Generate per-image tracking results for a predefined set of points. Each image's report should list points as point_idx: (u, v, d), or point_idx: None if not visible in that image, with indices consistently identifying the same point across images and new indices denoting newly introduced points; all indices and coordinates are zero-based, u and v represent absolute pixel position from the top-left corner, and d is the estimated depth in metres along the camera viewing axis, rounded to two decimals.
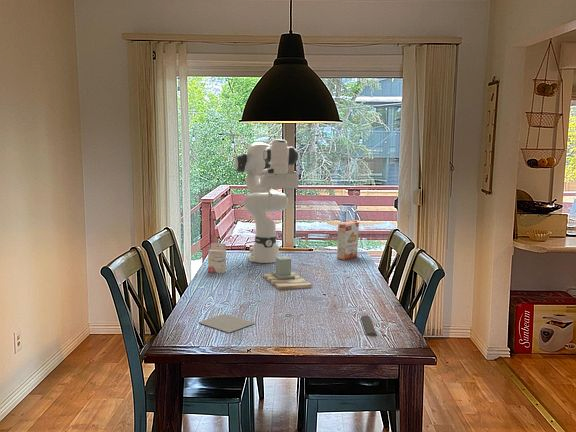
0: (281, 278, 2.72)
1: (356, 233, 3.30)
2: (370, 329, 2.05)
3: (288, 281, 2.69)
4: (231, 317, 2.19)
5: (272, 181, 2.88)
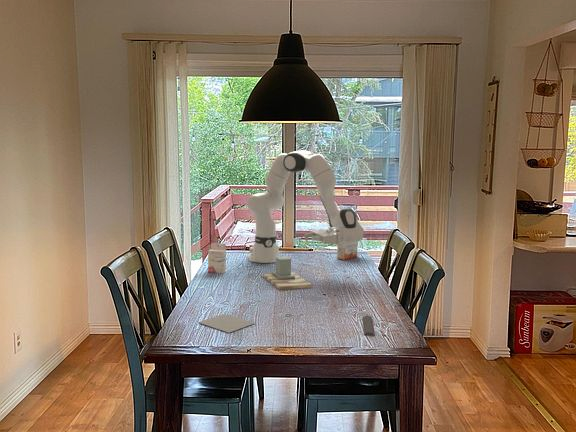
0: (281, 278, 2.72)
1: None
2: (368, 329, 2.05)
3: (288, 281, 2.69)
4: (231, 317, 2.19)
5: None
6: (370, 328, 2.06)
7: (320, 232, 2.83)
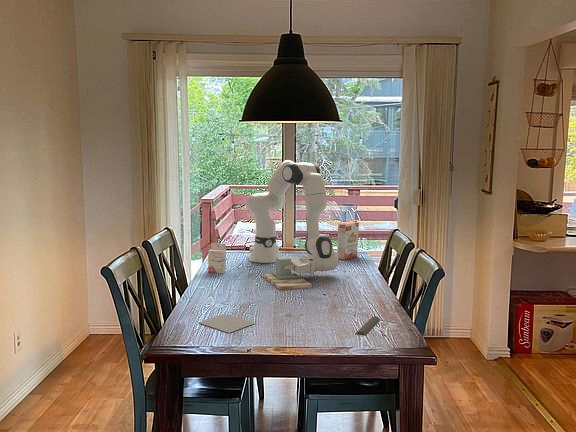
0: (281, 278, 2.72)
1: (356, 233, 3.30)
2: (362, 328, 2.06)
3: (288, 281, 2.69)
4: (231, 317, 2.19)
5: None
6: (365, 328, 2.07)
7: (294, 260, 2.81)
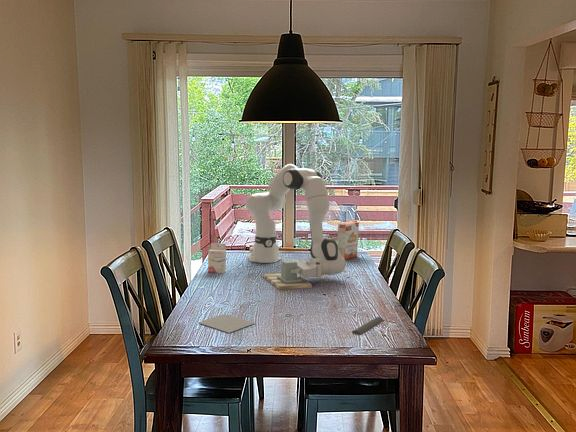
0: (287, 282, 2.64)
1: (356, 233, 3.30)
2: (360, 328, 2.06)
3: None
4: (231, 317, 2.19)
5: None
6: (363, 327, 2.07)
7: (300, 264, 2.73)
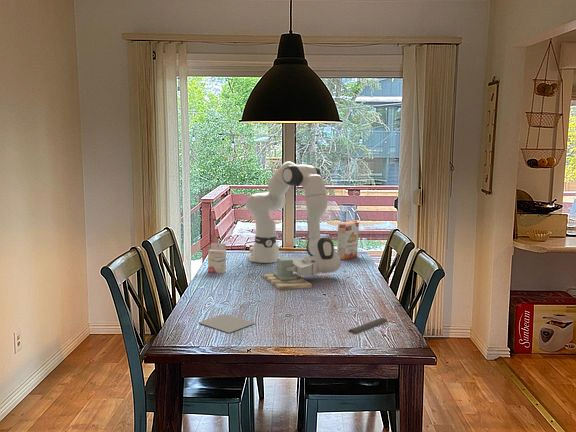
0: (283, 279, 2.69)
1: (356, 233, 3.30)
2: (357, 327, 2.07)
3: (288, 281, 2.69)
4: (231, 317, 2.18)
5: None
6: (361, 327, 2.07)
7: (295, 262, 2.78)
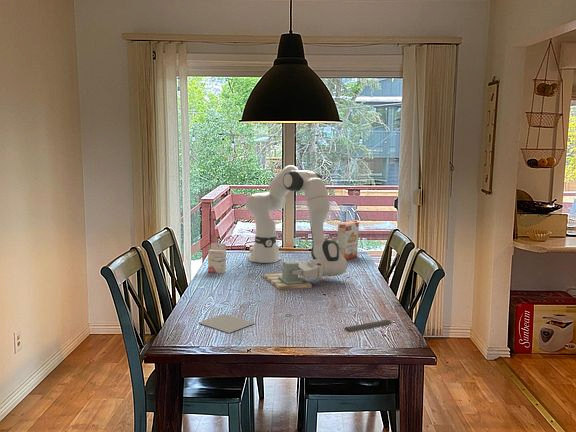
0: (288, 283, 2.63)
1: (356, 233, 3.30)
2: (354, 326, 2.09)
3: None
4: (231, 317, 2.18)
5: None
6: (357, 326, 2.09)
7: (301, 265, 2.71)
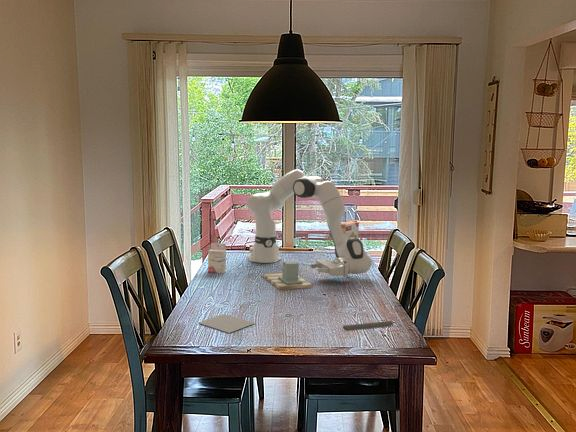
0: (288, 283, 2.63)
1: (356, 233, 3.30)
2: (352, 325, 2.10)
3: None
4: (231, 317, 2.18)
5: None
6: (356, 325, 2.09)
7: (326, 263, 2.76)
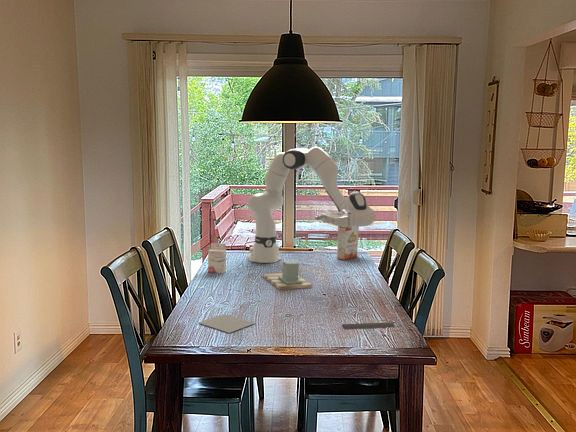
0: (288, 283, 2.63)
1: (356, 233, 3.30)
2: (351, 324, 2.11)
3: None
4: (231, 317, 2.18)
5: None
6: (355, 324, 2.10)
7: (331, 215, 2.80)
